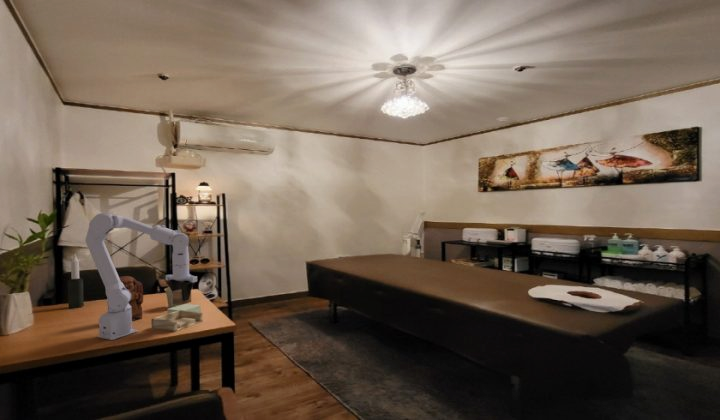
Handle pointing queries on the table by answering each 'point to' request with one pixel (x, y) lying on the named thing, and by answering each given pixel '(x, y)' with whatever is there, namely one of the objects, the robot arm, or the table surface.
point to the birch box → (176, 320)
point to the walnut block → (179, 298)
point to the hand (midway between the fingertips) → (181, 299)
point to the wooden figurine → (134, 295)
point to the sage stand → (185, 308)
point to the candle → (75, 286)
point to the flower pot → (170, 297)
